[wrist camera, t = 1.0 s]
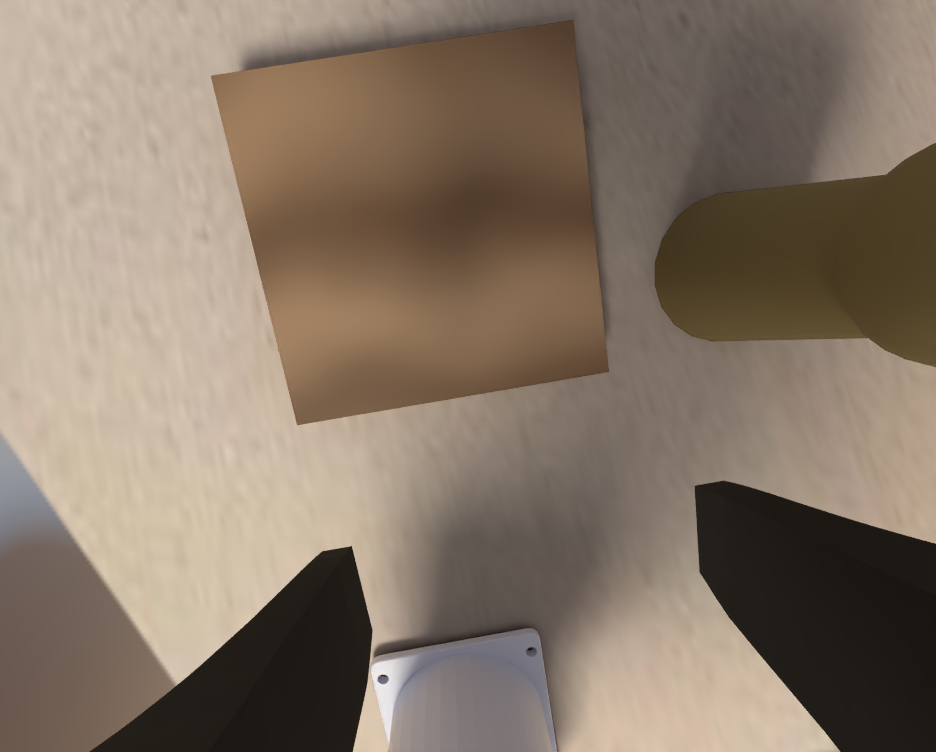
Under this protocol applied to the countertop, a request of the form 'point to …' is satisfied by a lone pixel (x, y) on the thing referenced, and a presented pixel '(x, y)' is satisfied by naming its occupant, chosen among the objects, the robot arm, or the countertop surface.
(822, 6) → the countertop surface
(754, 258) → the olive tapered knobbed peg
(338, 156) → the walnut base
